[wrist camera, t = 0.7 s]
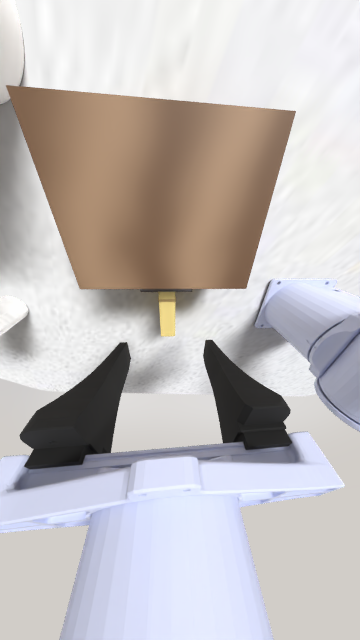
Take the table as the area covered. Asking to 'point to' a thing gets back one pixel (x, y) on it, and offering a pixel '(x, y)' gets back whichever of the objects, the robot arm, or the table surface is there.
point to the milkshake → (11, 312)
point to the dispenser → (154, 185)
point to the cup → (10, 48)
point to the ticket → (167, 313)
